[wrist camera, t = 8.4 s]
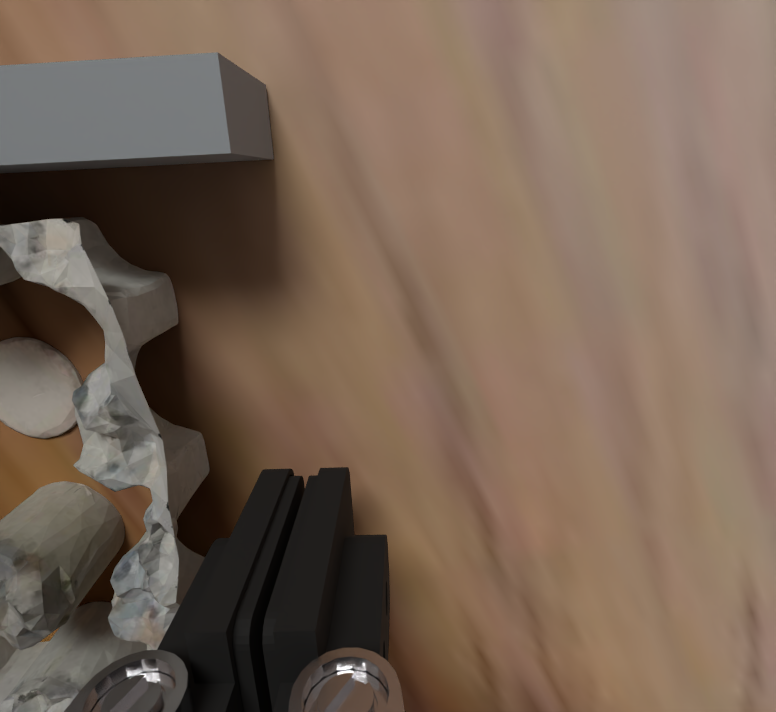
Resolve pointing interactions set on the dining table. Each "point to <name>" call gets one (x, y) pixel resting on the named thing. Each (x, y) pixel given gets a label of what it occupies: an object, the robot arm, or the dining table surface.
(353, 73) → the dining table surface
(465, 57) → the dining table surface
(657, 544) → the dining table surface
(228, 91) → the display stand
